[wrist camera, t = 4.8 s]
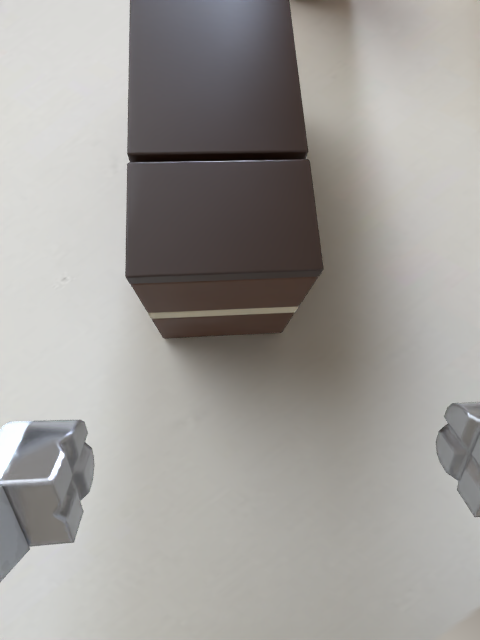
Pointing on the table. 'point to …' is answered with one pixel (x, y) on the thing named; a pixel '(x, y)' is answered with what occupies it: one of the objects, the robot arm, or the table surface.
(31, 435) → the robot arm
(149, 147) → the cake loaf
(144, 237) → the cake slice
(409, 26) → the table surface
